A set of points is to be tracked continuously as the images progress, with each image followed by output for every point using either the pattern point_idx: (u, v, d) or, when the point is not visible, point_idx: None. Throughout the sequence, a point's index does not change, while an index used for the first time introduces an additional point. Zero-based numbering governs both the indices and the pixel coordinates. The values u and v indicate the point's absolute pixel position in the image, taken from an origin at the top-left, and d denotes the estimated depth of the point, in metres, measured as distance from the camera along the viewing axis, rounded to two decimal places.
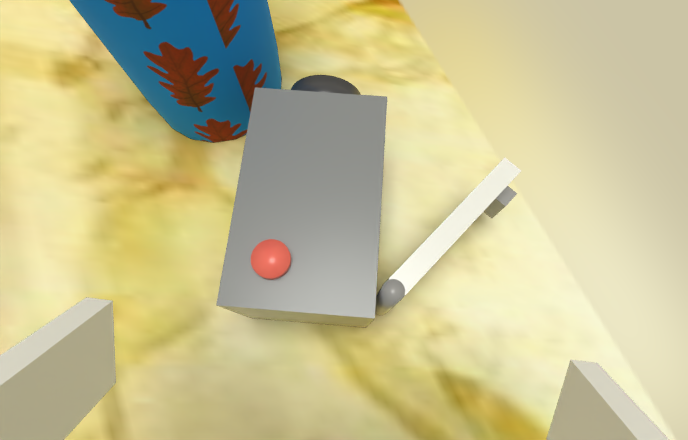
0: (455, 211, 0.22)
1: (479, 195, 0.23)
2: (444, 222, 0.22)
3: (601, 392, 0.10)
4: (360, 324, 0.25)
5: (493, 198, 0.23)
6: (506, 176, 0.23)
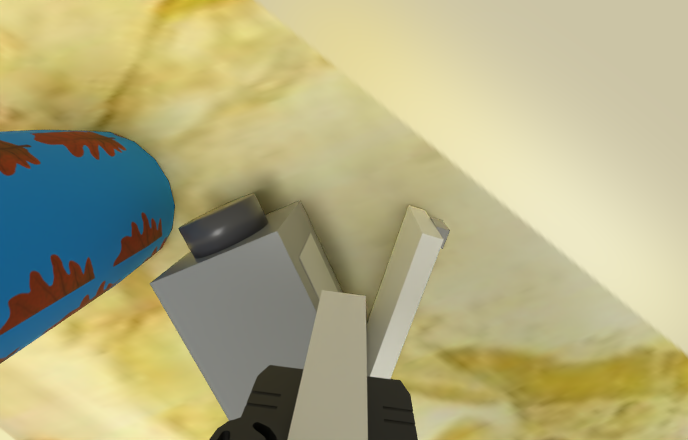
0: (396, 308, 0.23)
1: (412, 283, 0.22)
2: (391, 322, 0.23)
3: (344, 312, 0.12)
4: None
5: (426, 280, 0.22)
6: (431, 252, 0.22)
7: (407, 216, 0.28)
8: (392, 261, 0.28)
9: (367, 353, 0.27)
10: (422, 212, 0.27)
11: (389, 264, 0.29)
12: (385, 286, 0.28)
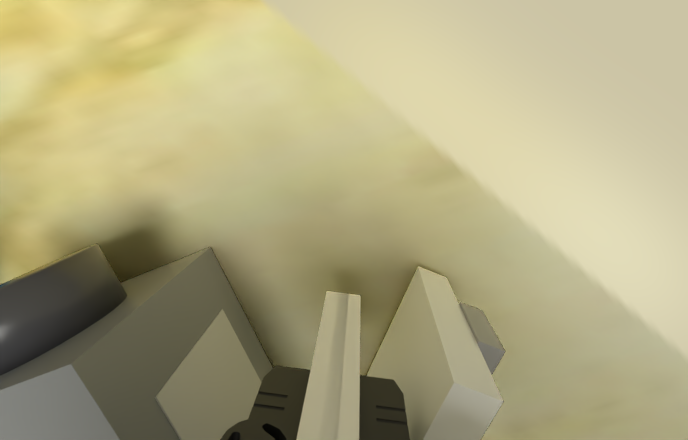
0: None
1: None
2: None
3: (339, 311, 0.12)
4: None
5: None
6: (469, 426, 0.09)
7: (414, 290, 0.15)
8: (380, 367, 0.15)
9: None
10: (443, 286, 0.15)
11: (375, 367, 0.16)
12: None
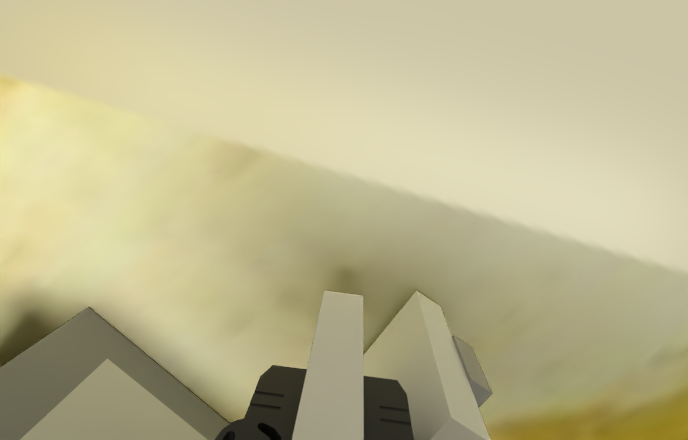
0: None
1: None
2: None
3: (342, 311, 0.12)
4: None
5: None
6: None
7: (410, 313, 0.15)
8: None
9: None
10: (438, 315, 0.15)
11: None
12: None
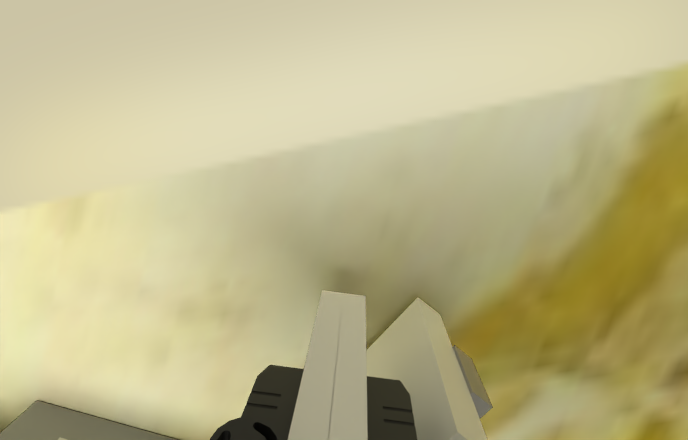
0: None
1: None
2: None
3: (344, 312, 0.12)
4: None
5: None
6: None
7: (411, 320, 0.15)
8: None
9: None
10: (439, 324, 0.15)
11: None
12: None
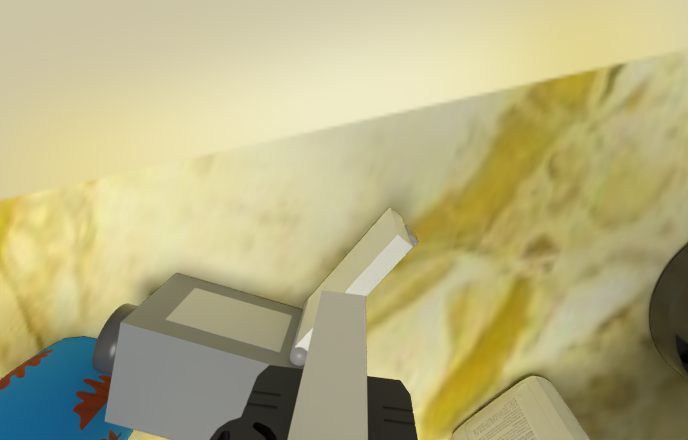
0: (349, 289, 0.25)
1: (371, 273, 0.25)
2: None
3: (344, 312, 0.12)
4: None
5: (384, 275, 0.25)
6: (397, 253, 0.24)
7: (385, 216, 0.30)
8: (356, 250, 0.30)
9: (303, 320, 0.29)
10: (399, 217, 0.30)
11: (352, 251, 0.31)
12: (342, 269, 0.30)
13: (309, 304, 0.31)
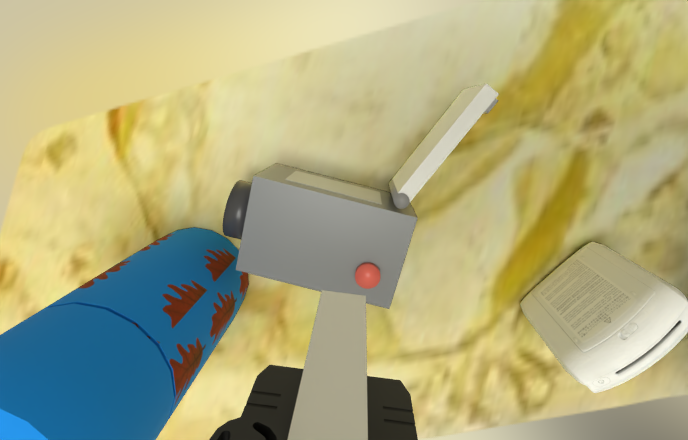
0: (444, 136, 0.30)
1: (464, 120, 0.29)
2: (436, 146, 0.30)
3: (344, 312, 0.12)
4: None
5: (474, 121, 0.29)
6: (486, 101, 0.29)
7: (461, 93, 0.35)
8: (437, 125, 0.35)
9: (397, 183, 0.34)
10: None
11: (432, 129, 0.36)
12: (426, 141, 0.35)
13: (396, 177, 0.36)
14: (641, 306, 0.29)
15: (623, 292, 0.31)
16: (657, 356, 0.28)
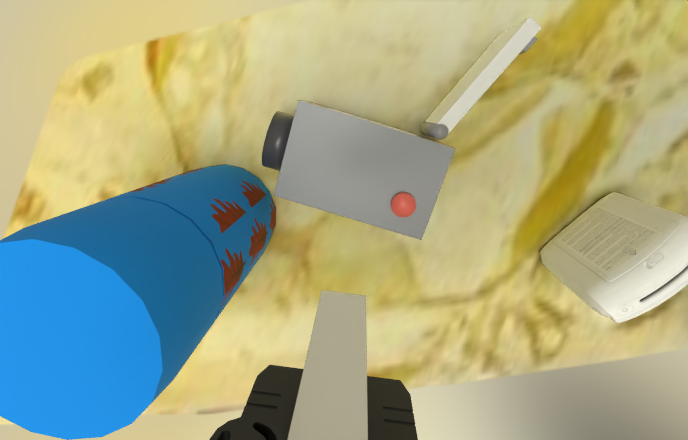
0: (486, 68, 0.31)
1: (506, 53, 0.30)
2: (478, 78, 0.31)
3: (344, 312, 0.12)
4: None
5: (516, 54, 0.30)
6: (529, 34, 0.30)
7: (498, 37, 0.36)
8: (473, 67, 0.36)
9: (433, 120, 0.35)
10: None
11: (467, 73, 0.37)
12: (461, 82, 0.36)
13: (430, 117, 0.37)
14: (667, 237, 0.30)
15: (648, 228, 0.32)
16: (680, 284, 0.30)
